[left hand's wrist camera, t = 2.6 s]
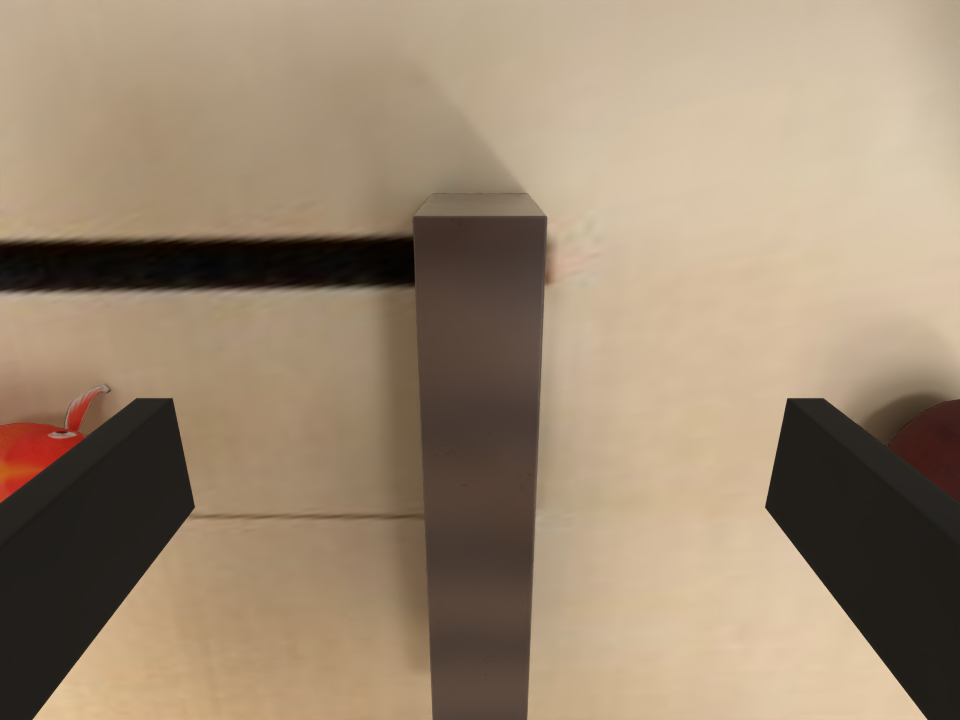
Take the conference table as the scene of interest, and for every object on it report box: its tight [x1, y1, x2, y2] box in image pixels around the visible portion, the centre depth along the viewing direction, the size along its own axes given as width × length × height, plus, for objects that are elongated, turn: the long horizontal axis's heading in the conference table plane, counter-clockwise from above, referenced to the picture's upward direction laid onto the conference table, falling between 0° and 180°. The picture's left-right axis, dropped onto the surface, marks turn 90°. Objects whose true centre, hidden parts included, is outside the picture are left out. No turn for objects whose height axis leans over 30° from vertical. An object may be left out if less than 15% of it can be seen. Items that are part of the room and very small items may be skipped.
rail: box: [413, 194, 547, 720], centre depth 28 cm, size 26×4×8 cm, turn 0°
